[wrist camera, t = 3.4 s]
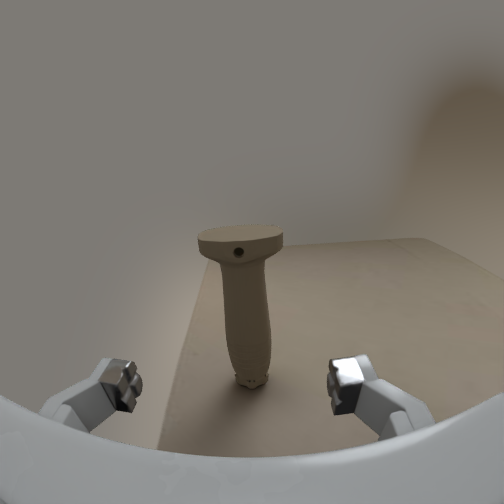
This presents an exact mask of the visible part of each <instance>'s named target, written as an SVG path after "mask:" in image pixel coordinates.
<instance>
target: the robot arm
mask: <svg viewBox="0 0 504 504" xmlns="http://www.w3.org/2000/svg"><path fill="white" fill-rule="evenodd" d="M136 370H137V367H136V365H135V363H134V362H132V361H126V360H118V359H111V358H103V359H102V360H101V361H100V363H99V364H98V366H97V367H96V368H95V370H94V371H93V373H92V374H91V376H90V377H89V379H84V380H82V381H80V382H79V383H77V384H75V385H73V386H71V387H69V388H67V389H65V390H63V391H61V392H59V393H57V394H55V395H53V396H51V397H50V398H48V400H47V401H46V402H45V404H44V405H43V407H42V408H41V410H40V411H39V412H38V414H37V413H35V412H32V411H30V410H28V409H26V408H24V407H22V406H20V405H18V404H16V403H14V402H12V401H10V400H8V399H7V398H5V397H3V396H1V395H0V504H504V392H502V393H499V394H497V395H495V396H493V397H491V398H489V399H487V400H486V401H484V402H482V403H480V404H478V405H476V406H474V407H472V408H470V409H468V410H466V411H463V412H461V413H459V414H457V415H455V416H452V417H450V418H448V419H445V420H443V421H440V422H438V423H436V422H435V420H434V419H433V417H432V415H431V413H430V411H429V409H428V407H427V406H426V404H425V402H423V401H421V400H419V399H417V398H415V397H414V396H412V395H410V394H408V393H406V392H405V391H403V390H401V389H399V388H397V387H396V386H394V385H392V384H390V383H389V382H387V381H385V380H383V379H379V378H378V376H377V374H376V372H375V370H374V368H373V366H372V364H371V362H370V360H369V358H368V356H367V355H366V354H362V355H356V356H351V357H344V358H337V359H330V361H329V370H330V372H329V374H328V375H327V390H328V395H329V396H330V397H331V398H332V399H331V407H332V410H333V414H334V415H342V414H349V413H354V414H355V415H356V416H357V417H358V418H360V419H361V420H362V421H363V422H364V423H365V424H367V425H368V426H369V427H370V428H371V429H372V430H374V431H375V432H376V433H377V434H378V435H379V436H380V437H379V439H378V441H377V442H374V443H370V444H366V445H361V446H356V447H351V448H346V449H340V450H335V451H328V452H321V453H314V454H305V455H295V456H281V457H257V458H237V457H213V456H200V455H190V454H181V453H174V452H167V451H160V450H155V449H149V448H143V447H139V446H134V445H130V444H125V443H121V442H117V441H113V440H110V439H105V438H102V437H99V436H95V435H92V434H90V431H92V430H93V429H94V428H95V427H97V426H98V425H99V424H100V423H102V422H103V421H104V420H105V419H107V418H108V417H109V416H111V415H112V414H113V413H114V412H115V411H116V410H117V411H123V412H129V413H132V412H133V409H134V408H135V405H136V403H137V402H136V399H135V398H137V397H138V396H140V394H141V392H142V386H143V384H142V379H141V377H140V375H139V374H138V373H136Z"/></svg>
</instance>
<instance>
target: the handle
mask: <svg viewBox="0 0 504 504" xmlns="http://www.w3.org/2000/svg"><path fill="white" fill-rule="evenodd" d="M198 245H199V251H200V253H201V254H202V255H203V256H205V257H207V258H209V259H211V260H214V261H216V262H218V263H219V264H220V267H221V271H222V279H223V294H224V310H225V328H226V340H227V347H228V352H229V356H230V360H231V363H232V366H233V368H234V371H235V372H236V374H235V377H236V380H237V382H238V384H240V385H245V386H247V387H248V388H250V389H254V388H256V387H257V386H259V385H261V384H265V383H266V382H267V381H268V375H269V374H268V369H269V365H270V359H271V328H270V320H269V311H268V303H267V294H266V284H265V274H264V267H265V260H266V259H267V258H269V257H270V256H272V255H274V254H276V253H277V252H278V251H280V250H281V249H282V247H283V230H282V228H280V227H278V226H274V225H237V226H226V227H220V228H214V229H209V230H205V231H203V232H201V233H200V234H199V235H198Z"/></svg>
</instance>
